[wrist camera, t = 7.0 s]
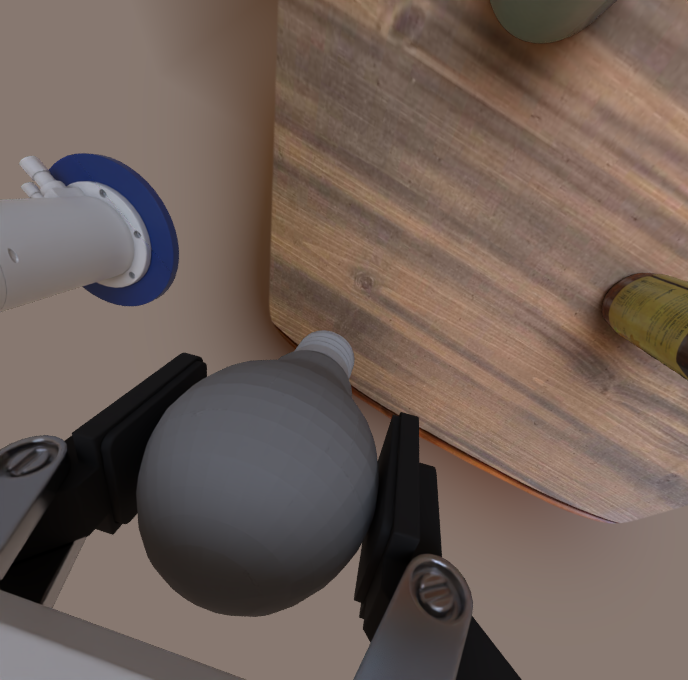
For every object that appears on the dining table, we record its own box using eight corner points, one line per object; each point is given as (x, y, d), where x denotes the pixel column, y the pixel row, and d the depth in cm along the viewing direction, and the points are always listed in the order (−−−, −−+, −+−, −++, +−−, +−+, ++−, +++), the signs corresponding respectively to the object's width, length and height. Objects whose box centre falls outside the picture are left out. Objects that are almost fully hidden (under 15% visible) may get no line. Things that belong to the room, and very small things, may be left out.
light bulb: (302, 260, 14) (87, 410, 5) (423, 340, 14) (434, 613, 5) (246, 363, 16) (43, 580, 7) (349, 427, 17) (273, 704, 8)
